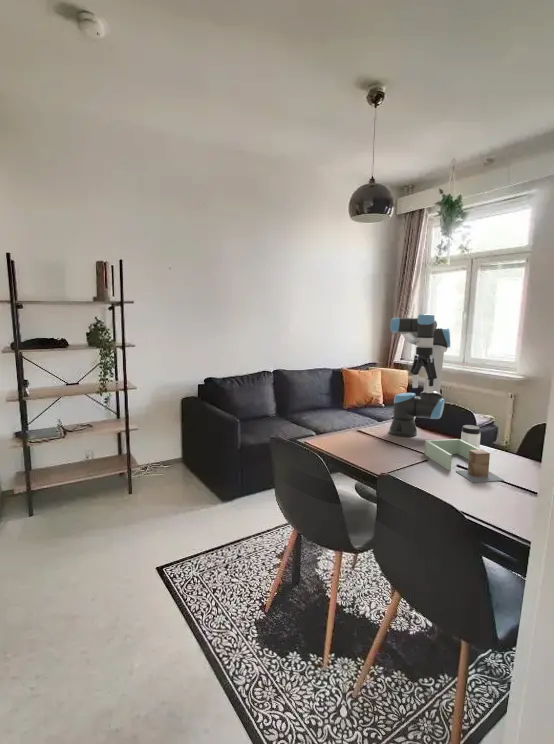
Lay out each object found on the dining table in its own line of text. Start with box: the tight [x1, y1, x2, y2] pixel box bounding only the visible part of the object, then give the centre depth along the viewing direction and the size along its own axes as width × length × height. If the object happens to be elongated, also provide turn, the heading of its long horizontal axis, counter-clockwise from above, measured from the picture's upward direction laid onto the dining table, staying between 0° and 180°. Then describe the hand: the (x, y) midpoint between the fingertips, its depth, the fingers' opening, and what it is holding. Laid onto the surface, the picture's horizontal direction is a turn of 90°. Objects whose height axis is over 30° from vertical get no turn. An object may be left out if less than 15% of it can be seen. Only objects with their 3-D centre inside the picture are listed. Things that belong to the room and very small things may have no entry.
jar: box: [460, 424, 482, 449], centre depth 204 cm, size 9×8×12 cm
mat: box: [455, 469, 505, 484], centre depth 171 cm, size 12×14×1 cm
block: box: [467, 449, 491, 477], centre depth 172 cm, size 5×6×10 cm
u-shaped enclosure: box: [423, 438, 481, 471], centre depth 189 cm, size 21×18×7 cm
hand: (422, 390), depth 197 cm, fingers open, 13 cm apart
